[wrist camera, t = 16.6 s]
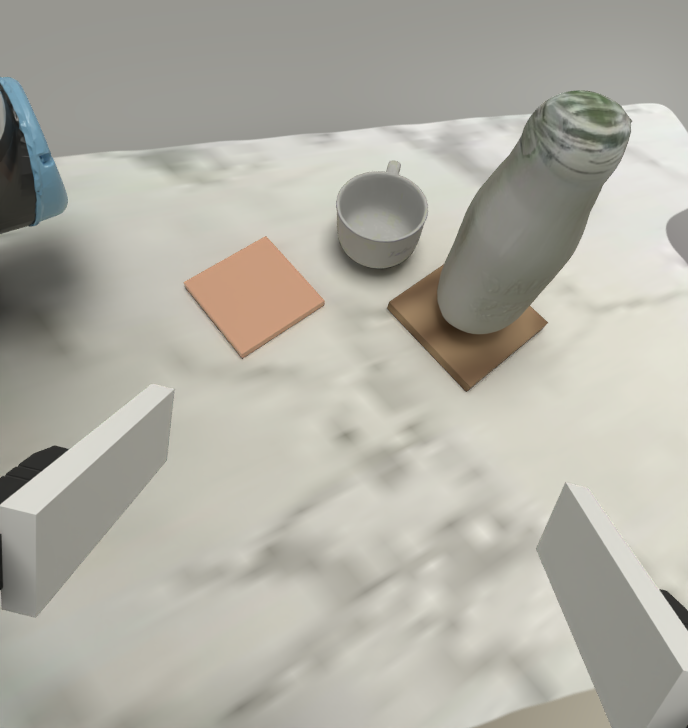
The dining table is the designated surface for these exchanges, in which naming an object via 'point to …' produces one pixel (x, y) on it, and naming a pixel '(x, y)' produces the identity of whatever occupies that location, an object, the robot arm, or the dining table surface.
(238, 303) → the terracotta tile
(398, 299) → the walnut board
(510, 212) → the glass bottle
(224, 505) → the dining table surface
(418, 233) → the teacup
